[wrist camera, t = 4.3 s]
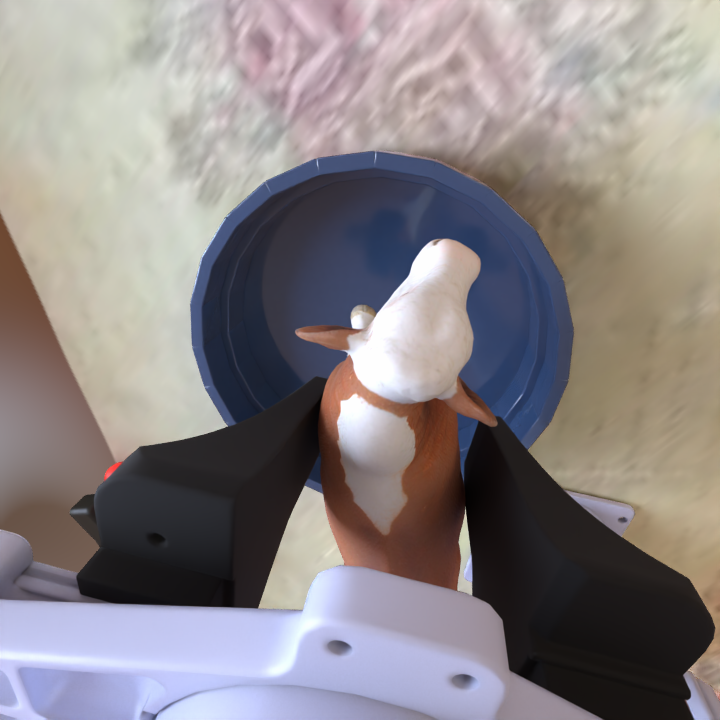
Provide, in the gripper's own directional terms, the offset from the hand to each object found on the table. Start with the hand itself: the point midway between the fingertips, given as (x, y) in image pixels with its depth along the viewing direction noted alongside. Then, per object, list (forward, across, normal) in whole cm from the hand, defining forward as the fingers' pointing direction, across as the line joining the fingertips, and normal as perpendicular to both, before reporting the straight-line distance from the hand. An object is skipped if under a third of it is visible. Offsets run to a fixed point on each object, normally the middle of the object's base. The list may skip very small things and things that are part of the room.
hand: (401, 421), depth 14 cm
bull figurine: (+3, 0, 0) cm, 4 cm away
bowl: (+10, +2, +1) cm, 10 cm away
